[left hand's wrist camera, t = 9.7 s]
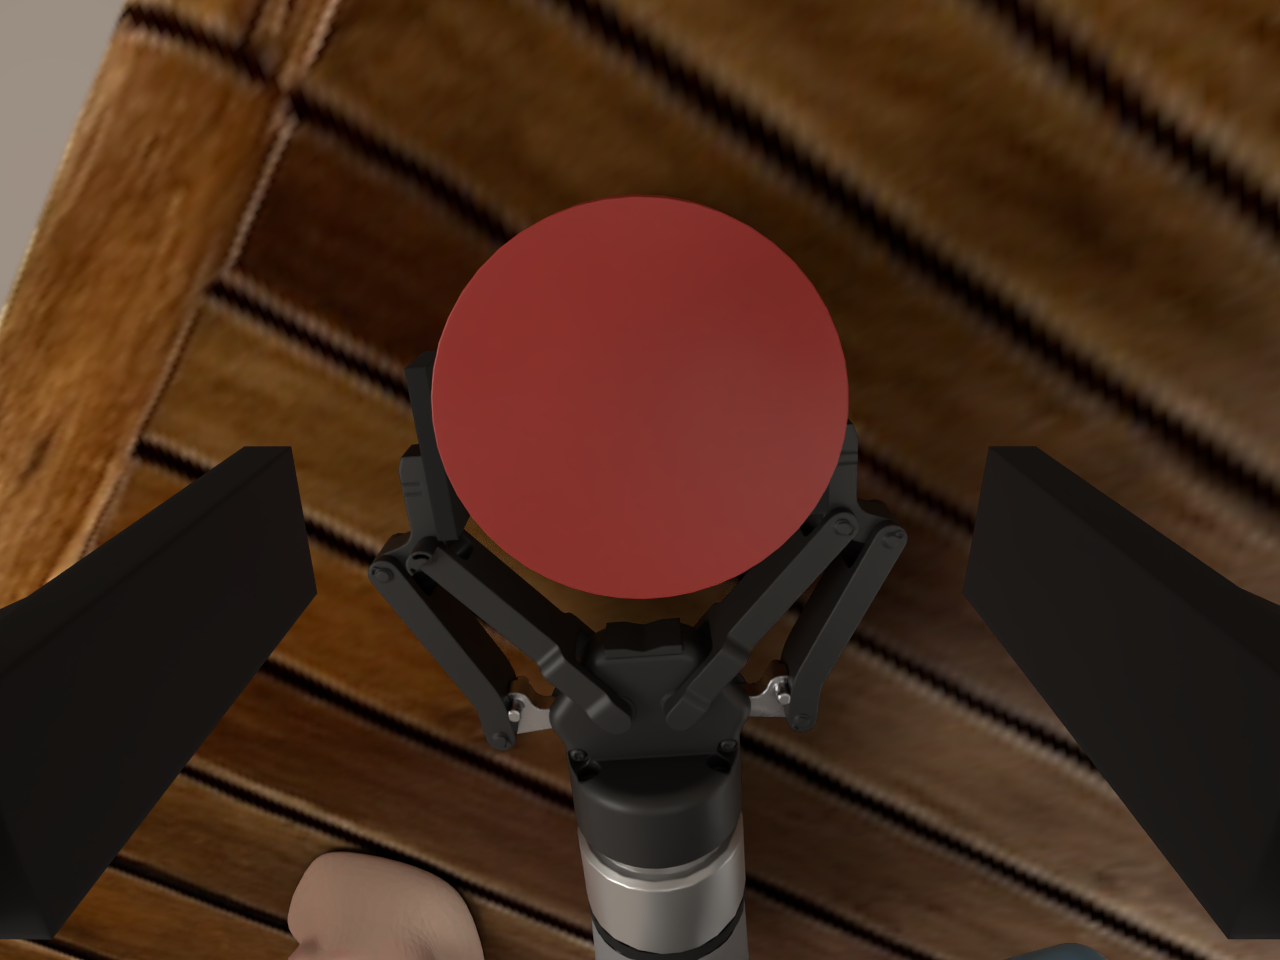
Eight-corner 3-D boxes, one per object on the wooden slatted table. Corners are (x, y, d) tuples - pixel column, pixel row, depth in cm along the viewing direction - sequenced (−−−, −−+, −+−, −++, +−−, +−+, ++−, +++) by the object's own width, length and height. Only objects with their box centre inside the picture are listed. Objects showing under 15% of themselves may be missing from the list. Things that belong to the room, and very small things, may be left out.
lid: (713, 106, 18) (720, 99, 16) (894, 457, 21) (916, 482, 19) (369, 333, 19) (343, 348, 18) (583, 623, 23) (578, 659, 21)
